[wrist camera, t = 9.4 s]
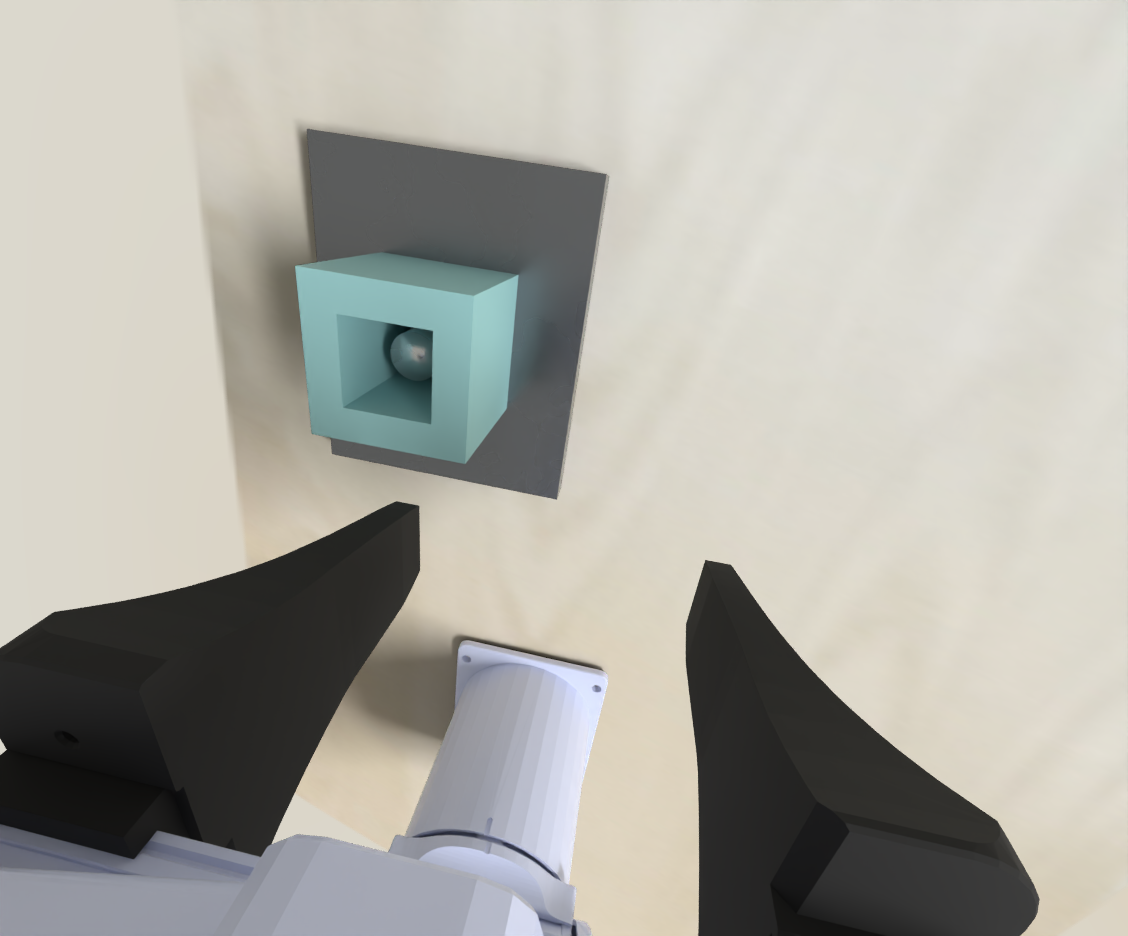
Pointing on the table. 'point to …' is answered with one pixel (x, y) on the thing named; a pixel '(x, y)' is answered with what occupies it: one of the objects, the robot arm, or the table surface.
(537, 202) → the pin plate
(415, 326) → the square hole block
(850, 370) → the table surface
